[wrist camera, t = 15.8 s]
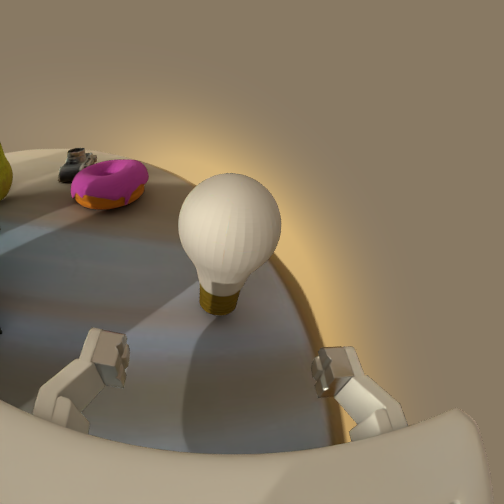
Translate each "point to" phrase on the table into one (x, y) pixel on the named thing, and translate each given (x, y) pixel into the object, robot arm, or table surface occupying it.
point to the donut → (109, 184)
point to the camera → (75, 164)
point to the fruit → (4, 175)
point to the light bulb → (228, 235)
